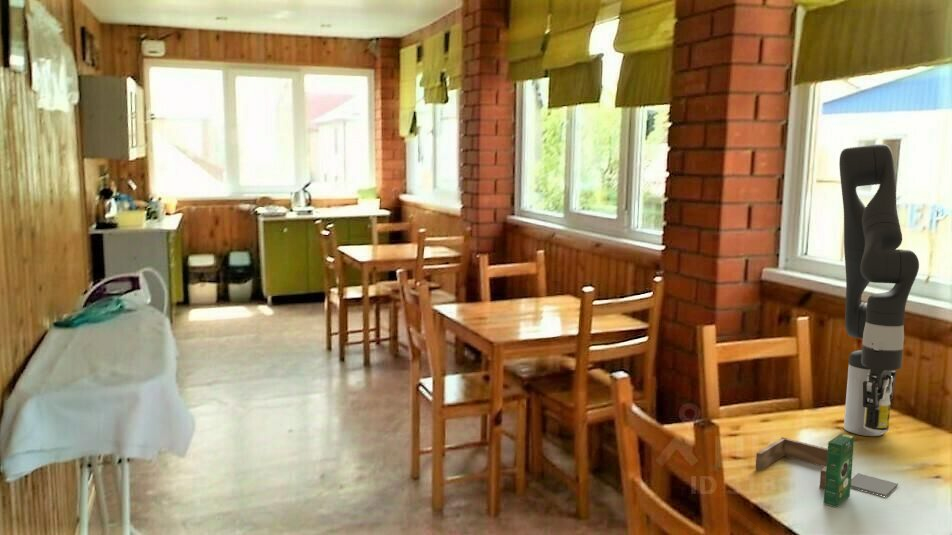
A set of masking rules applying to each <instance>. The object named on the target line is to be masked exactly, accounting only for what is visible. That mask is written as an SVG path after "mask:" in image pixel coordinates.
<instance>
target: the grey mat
mask: <svg viewBox="0 0 952 535" xmlns="http://www.w3.org/2000/svg"><path fill="white" fill-rule="evenodd" d="M897 486H899V484H898V483H896V482H893V481H889V480H886V479H881V478H878V477H875V476H871V475H867V474H863V473H860V472H858V473H857V474H855V475H854V476H853V477H851V488H850V489H853V488H855V489H854V490H857V489H859V490H858V491H860V490H863V491H862V492H864V491H867V492H870V493H869V494H871V493H874V494H873V495H875V494H878V495H882V496H885V497H886V496H887V497H889V495H890V494H891V493H892V492H894V491H895V490H896V487H897ZM867 492H866V493H867ZM878 495H877V496H878ZM882 496H881V497H882ZM885 497H884V498H885ZM887 497H886V498H887Z"/></svg>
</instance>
